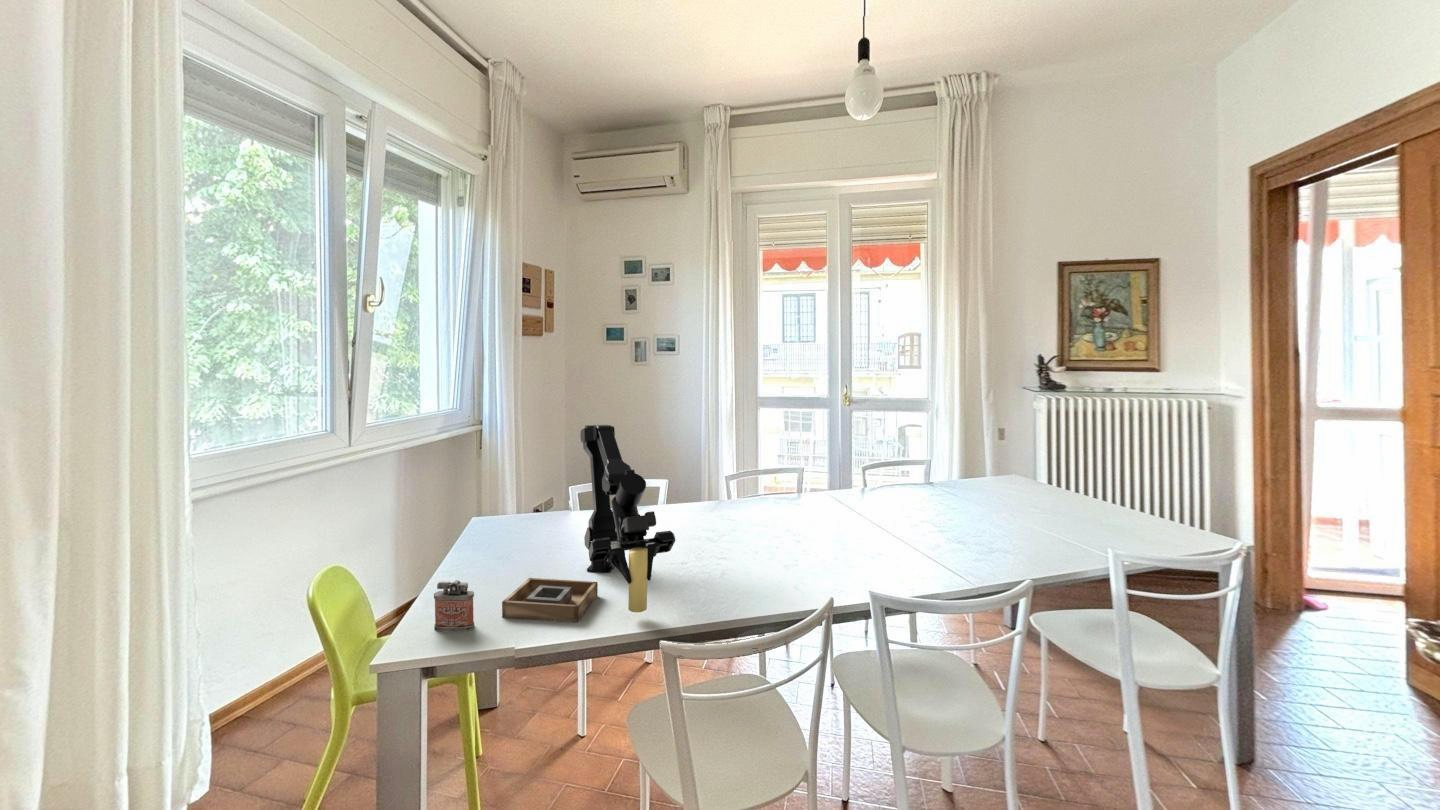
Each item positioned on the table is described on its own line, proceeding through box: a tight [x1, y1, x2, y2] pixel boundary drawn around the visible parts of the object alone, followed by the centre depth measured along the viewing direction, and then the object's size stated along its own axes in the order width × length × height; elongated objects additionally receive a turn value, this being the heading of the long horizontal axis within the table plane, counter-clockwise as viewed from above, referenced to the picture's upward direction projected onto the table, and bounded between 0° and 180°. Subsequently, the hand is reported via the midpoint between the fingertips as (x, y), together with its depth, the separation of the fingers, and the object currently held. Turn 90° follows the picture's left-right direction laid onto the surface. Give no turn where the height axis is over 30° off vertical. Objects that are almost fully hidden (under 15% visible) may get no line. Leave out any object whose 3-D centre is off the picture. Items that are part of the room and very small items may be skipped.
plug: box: [627, 548, 648, 613], centre depth 126 cm, size 4×4×13 cm
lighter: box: [433, 579, 475, 632], centre depth 121 cm, size 8×3×10 cm, turn 92°
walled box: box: [501, 577, 599, 623], centre depth 133 cm, size 14×17×4 cm
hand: (639, 581), depth 125 cm, fingers closed on plug, 4 cm apart
